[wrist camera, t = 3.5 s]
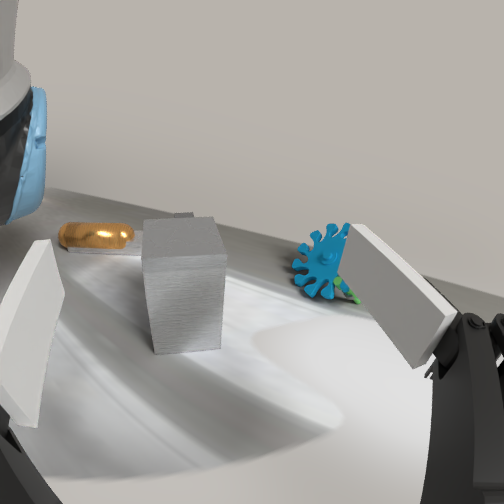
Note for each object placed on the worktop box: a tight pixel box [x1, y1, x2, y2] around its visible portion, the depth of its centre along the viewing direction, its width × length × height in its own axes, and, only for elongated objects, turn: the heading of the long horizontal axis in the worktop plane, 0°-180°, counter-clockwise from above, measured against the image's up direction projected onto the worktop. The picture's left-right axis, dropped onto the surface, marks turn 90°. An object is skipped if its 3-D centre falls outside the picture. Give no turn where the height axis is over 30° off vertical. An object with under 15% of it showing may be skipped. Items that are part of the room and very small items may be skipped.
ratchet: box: [58, 212, 194, 255], centre depth 38 cm, size 22×7×5 cm, turn 96°
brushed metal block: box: [141, 217, 227, 355], centre depth 26 cm, size 6×6×10 cm
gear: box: [292, 223, 361, 304], centre depth 36 cm, size 11×6×10 cm
